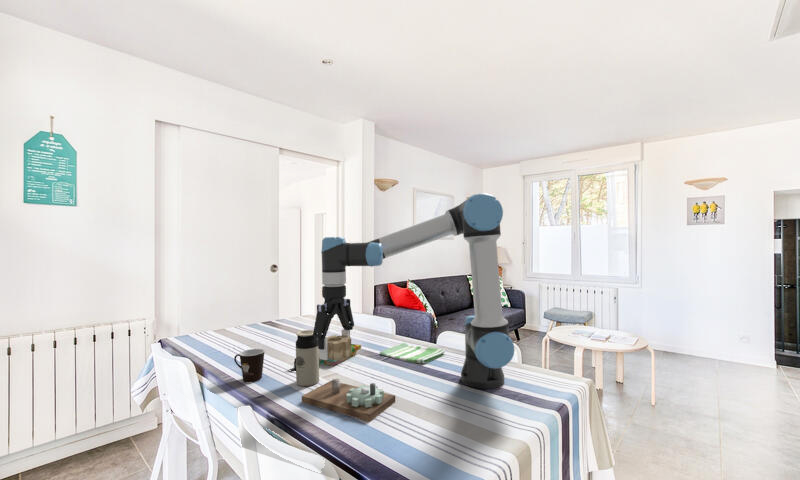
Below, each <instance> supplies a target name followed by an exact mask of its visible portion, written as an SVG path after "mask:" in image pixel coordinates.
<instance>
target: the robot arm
mask: <svg viewBox="0 0 800 480" xmlns="http://www.w3.org/2000/svg"><path fill="white" fill-rule="evenodd" d="M503 209H504V208H503V206H502V203H501V202H500V200H498V199H497V198H496V197H495V196H494V195H492V194H489V193H483V192H482V193H477V194H473V195H471V196H470V197H468V198H467V199H466V200H464V201H462V202H461V203H460V204H459V205H456V206H454V207H453V208H450V209H447V210H446V211H445V213H444V214H442V215H439V216H437V217H434V218H431V219H428V220H425V221H423V222H420V223H417V224H415V225H412V226H409V227H406V228H404V229H401V230H398V231H395V232H392V233H390V234H387V235H383V236H381V237H378V238H376V239H372V240H370V241H368V242H346V238H345V237H344V236H333V237H332V236H327V237H323V239H322V240H321V251H320V252H321V278H322V282H321V284H322V287H321V292H322V293H321V295H322V298H323V300H324V301H323V304H317V305H316V317H315V321H314V327H313V330H314V331H313V337H314V338H317V339H318V349H319V359H322V360H328V345H327V338H325V337H327V334H328V332H329V329H330V325H331V322H332V319H333V318H334V317H335V315H337V318H338V319H339V321H340V324H341V327H342V328H343V329H341V336H342V335H344V336H347V338H348V337H351V331H353V329H354V326H355V321H354V317H353V312H352V308H351V299H350V298H346V296H347V286H346V285H345V284H347V272H346V270H347V269H346V268H347V267H371V268H372V267H377V266H379V267H380V266H382V265H383V260H384V259H387V258H389V257H392V256H395V255H398V254H402V253H403V252H407V251H409V250H412V249H414V248H415V249H416V248H417V247H420V246H424V245H425V244H429V243H431V242H433V241H437V240H440V239H443V238H446V237H448V236H451V235H452V236H455V237H456V236H460V235H462V234H463V239H464V240H465V241H466V242H467V243H468V248H469V262H470V270H471V274H470V275H471V284H472V285H471V286H472V295H473V309H474V315H468V316H466V317H465V318H464V335H465V337H464V339H465V341H464V342H465V343H464V344H465V352H464V353H465V359H464V361H463V362H464V363H463V365H462V369H461V373H460V380H461V383H463V384H464V385H466V386H469V387H472V388H475V389H483V390H484V389H485V390H486V389H496V388H500V387H502V386H503V385H504V384H505V373H504V370H503V368H504V367H506V366H507V365H508V364H509V363H510V362H511V361H512V360H513V358H514V355H515V346H514V341H513V339H512V338H511V337H510V330H509V321H508V319H506V318H505V317H504V316H503V307H502V306H503V305H502V294H501V282H500V269H499V268H500V267H499V256H498V247H497V245H498V244H497V243H498V242H497V240H498V239H499V238H500V237H501V234H502V233H501V223H502V219H503V215H504V210H503Z"/></svg>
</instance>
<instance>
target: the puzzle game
mask: <svg viewBox="0 0 800 480" xmlns="http://www.w3.org/2000/svg"><path fill="white" fill-rule="evenodd" d="M361 349H362V345H361V344H354V343H351V354H350V357H347V358H340V360H334V359H328V360H322V359H319V365H320V364H322V365H326V366H331V365H332V366H333V367H335V366H336V364H337V365H339V364H340V363H342V362H344V361H346V360H348V359H349V358H352V357H353V356H355V354H357V351H359V350H361Z"/></svg>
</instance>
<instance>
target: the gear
mask: <svg viewBox="0 0 800 480" xmlns="http://www.w3.org/2000/svg"><path fill="white" fill-rule="evenodd" d="M358 387H359V388H356V389H355V388H351V389H350V390H349V393H347V394H346V399H347V403H349V402H352V406H354V407H358V406H359V405H360V406H365V407H372V404H375V403H377V404H380V403H381V402H382V398H384V393H385V392H384V389H383V388H380V389H379V386H377V385H376V383H375V382H373V383H372V382H371V383H369V386H366V385H365V384H364V385H359V386H358Z"/></svg>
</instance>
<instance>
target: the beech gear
mask: <svg viewBox="0 0 800 480" xmlns="http://www.w3.org/2000/svg"><path fill="white" fill-rule="evenodd" d="M325 338H327V345H328V359H334V360H340V358H347V357H350V354H351V344H352V337H351V336H350V337H348V338H347V336H344V335H342V334H341V335H336V334H333V335H330V336H326V337H325ZM350 358H351V357H350Z"/></svg>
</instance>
